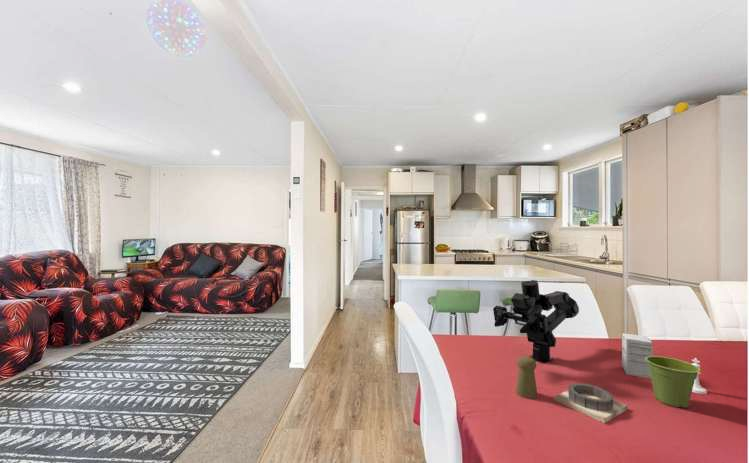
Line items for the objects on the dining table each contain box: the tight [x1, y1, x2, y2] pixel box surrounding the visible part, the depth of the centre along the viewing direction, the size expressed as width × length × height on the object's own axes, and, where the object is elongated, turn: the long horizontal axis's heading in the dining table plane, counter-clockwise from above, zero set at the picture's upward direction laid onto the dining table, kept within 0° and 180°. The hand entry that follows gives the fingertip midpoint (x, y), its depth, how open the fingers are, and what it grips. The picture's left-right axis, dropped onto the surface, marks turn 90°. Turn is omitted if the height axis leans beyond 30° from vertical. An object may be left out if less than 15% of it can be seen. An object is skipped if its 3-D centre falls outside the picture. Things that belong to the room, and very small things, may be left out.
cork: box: [515, 355, 538, 400], centre depth 98 cm, size 6×6×11 cm
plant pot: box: [645, 355, 702, 409], centre depth 94 cm, size 12×12×11 cm
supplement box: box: [621, 332, 654, 380], centre depth 113 cm, size 7×7×13 cm
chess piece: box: [691, 357, 708, 395], centre depth 101 cm, size 5×5×10 cm
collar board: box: [553, 382, 628, 424], centre depth 91 cm, size 13×13×4 cm
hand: (507, 328), depth 109 cm, fingers open, 9 cm apart
